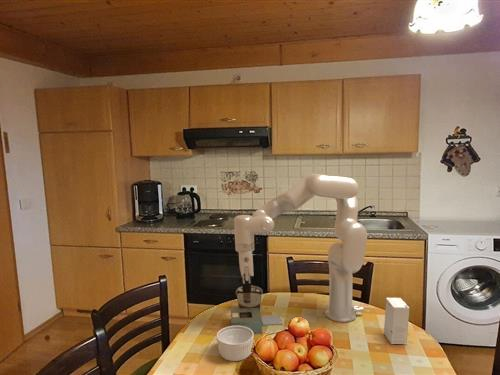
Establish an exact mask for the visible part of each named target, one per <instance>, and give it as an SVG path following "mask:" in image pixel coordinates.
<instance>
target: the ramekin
mask: <svg viewBox="0 0 500 375" xmlns="http://www.w3.org/2000/svg"><path fill="white" fill-rule="evenodd" d="M254 335H255V334H254V333H253V331H252V330H251V329H249V328H247V327H244V326H231V325H230V326H229V325H228V326H226V327H223V328H221V329H219V330H218V332H217V333H216V342H217V349H218V352H219V355H220V356H221V357H222V358H223V359H224V360H226V361H229V362H238V361H239V362H240V361H243V360H246V359H247V358H248V357H250V355H251V354H252V352H251V348H252V349H253V347H252V346H253V343H254V340H255V339H254V338H255V336H254Z"/></svg>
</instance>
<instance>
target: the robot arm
mask: <svg viewBox="0 0 500 375" xmlns="http://www.w3.org/2000/svg"><path fill="white" fill-rule="evenodd" d="M358 193H359V184H358V182H357V181H356V180H355V179H354V178H351V177H348V176H347V177H346V176H341V175H326V174H321V173H313V172H311V173H308V174H307V175H306V176H304V177H303V178H301V179H300V180H299V181H297V182H296V183H295V184H294V185H292V186H291V187H290V188H288V189H287V190H286V191H285V192H283V193H282V194H280V195H278V196H276V197H274V198H271V200H268V201H267V202H266V203H264V204H263V205H262V206H260V207H259V208H258V209H257V210H255V211H254V212H253V213H252V215H250V214H240V215H238V214H237V215H236V216H235V217H234V220H233V221H234V222H233V223H234V224H233V225H234V245H235V251H236V253H238V262H239V263H238V264H239V271H240V275H241V278H242V277H243V283H242V282H241V287H242V289H243V293H251V286H252V283H251V277H254V258H253V252H254V251H255V234H257V235H258V234H259V235H265V234H266V235H267V234H270V233H271V232H272V231H273V230H274V229H275V228H274V227H275V221H274V219H276V218H277V217H278V216H280V215H282V214H284V213H285V214H286V213H289V212H294V211H297V210H298V209H300V208H301V207H303V206H304V205H305V204H306V203H307V202H309V201H310V200H311V199H313V198H314V197H315V196H317V197H321V198H329V199H335V201H336V213H335V214H336V215H335V222H334V229H333V233H334V236H335V237H336V238H337V239H338V240H340V241H342V242H335V243H332V244H331V245H330V246H329V249H328V251H327V262H328V268H329V280H328V281H329V288H328V290H329V291H328V292H329V295H328V296H329V297H328V298H329V299H328V300H329V302H328V304H329V305H328V308H327V309H326V310H325V316H326V318H328V320H331V321H334V322H338V323H349V322H353V321H355V319H357V318H356V317H357V315H356V313H357V312H358V313H363V312H364V307H363V306H360V307H359V305H353V282H354V281H353V278H354V277H353V274H355V273H357V272H359V271H360V270H361V268H362V266H363V265H364V260H365V254H366V249H367V242H368V233H367V230H366V228H365V226H364V225H363V224H362V223H361V222H358V216H359V202H358V201H359V200H358V197H357V194H358ZM248 274H249V275H248ZM244 278H245V279H244Z"/></svg>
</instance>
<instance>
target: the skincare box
mask: <svg viewBox="0 0 500 375" xmlns="http://www.w3.org/2000/svg"><path fill="white" fill-rule="evenodd" d="M385 299H386V300H385V312H384V325H383V326H384V327H383V335H386V336H385V338H386V339H387V340H388V341H389V343H390V345H391V344H405V343H407V344H408V331H409V320H410V319H409V318H410V306H408V305H407V303H406V302H405V301H404V300H403V299H402V298H401V297H386V298H385Z"/></svg>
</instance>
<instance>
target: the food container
mask: <svg viewBox="0 0 500 375" xmlns="http://www.w3.org/2000/svg"><path fill="white" fill-rule="evenodd" d="M235 294H236V298H237V306H238V309H243V308H259V310H260V311H261V307H262V295H264V293H263V289H262V288H261V287H260V286H257V285H251V302H250V303H244V302H243V289H242V286H240V287H238V288H237V289H236V290H235Z"/></svg>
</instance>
